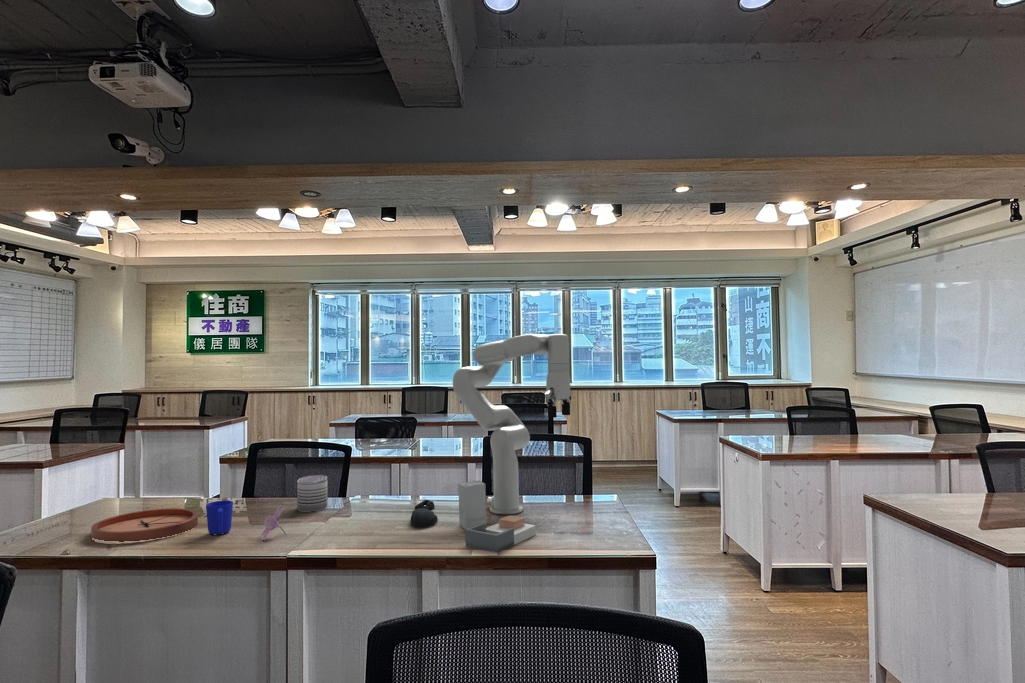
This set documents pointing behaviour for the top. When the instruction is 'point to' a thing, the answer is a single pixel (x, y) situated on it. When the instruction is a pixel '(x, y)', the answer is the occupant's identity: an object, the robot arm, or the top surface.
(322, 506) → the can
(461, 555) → the top surface
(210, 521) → the mug
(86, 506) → the top surface
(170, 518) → the clock
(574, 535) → the top surface
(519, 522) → the tile
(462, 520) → the skincare box
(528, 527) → the plate
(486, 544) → the bin
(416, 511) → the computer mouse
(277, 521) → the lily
